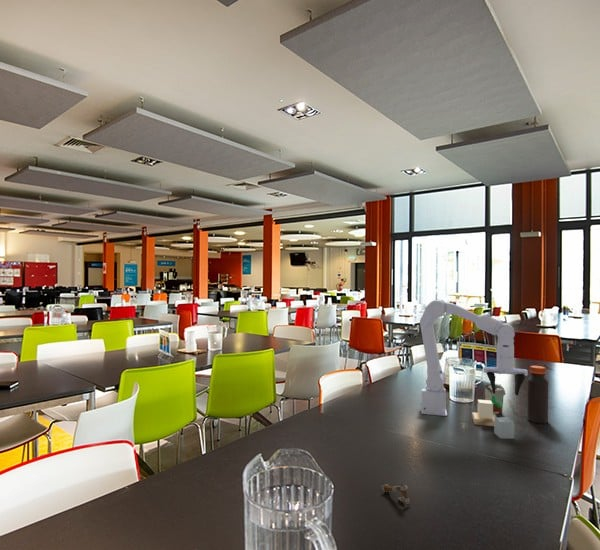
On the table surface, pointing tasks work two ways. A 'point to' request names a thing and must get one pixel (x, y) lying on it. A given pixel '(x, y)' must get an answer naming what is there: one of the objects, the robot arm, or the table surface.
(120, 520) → the table surface
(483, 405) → the cream block
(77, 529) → the table surface
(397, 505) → the table surface
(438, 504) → the table surface
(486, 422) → the oak slab
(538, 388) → the bottle
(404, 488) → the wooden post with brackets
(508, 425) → the slate block
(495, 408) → the food container
